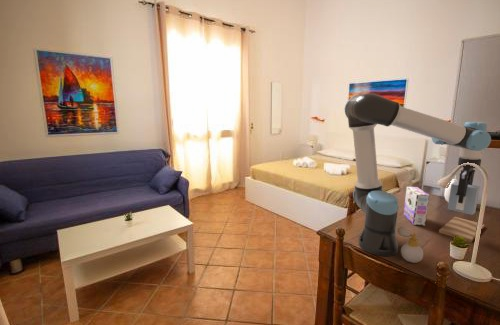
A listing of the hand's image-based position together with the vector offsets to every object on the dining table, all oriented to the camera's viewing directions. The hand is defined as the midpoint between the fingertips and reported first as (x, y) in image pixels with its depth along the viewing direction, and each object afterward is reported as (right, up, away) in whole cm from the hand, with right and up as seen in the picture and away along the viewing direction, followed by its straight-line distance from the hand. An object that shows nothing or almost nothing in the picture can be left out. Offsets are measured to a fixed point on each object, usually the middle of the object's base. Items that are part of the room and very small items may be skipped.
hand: (461, 207), depth 117 cm
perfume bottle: (-34, -18, -15) cm, 41 cm away
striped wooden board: (+7, -12, +8) cm, 16 cm away
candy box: (-10, -10, +19) cm, 24 cm away
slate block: (0, -1, 0) cm, 1 cm away
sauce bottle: (+27, -5, +41) cm, 50 cm away
